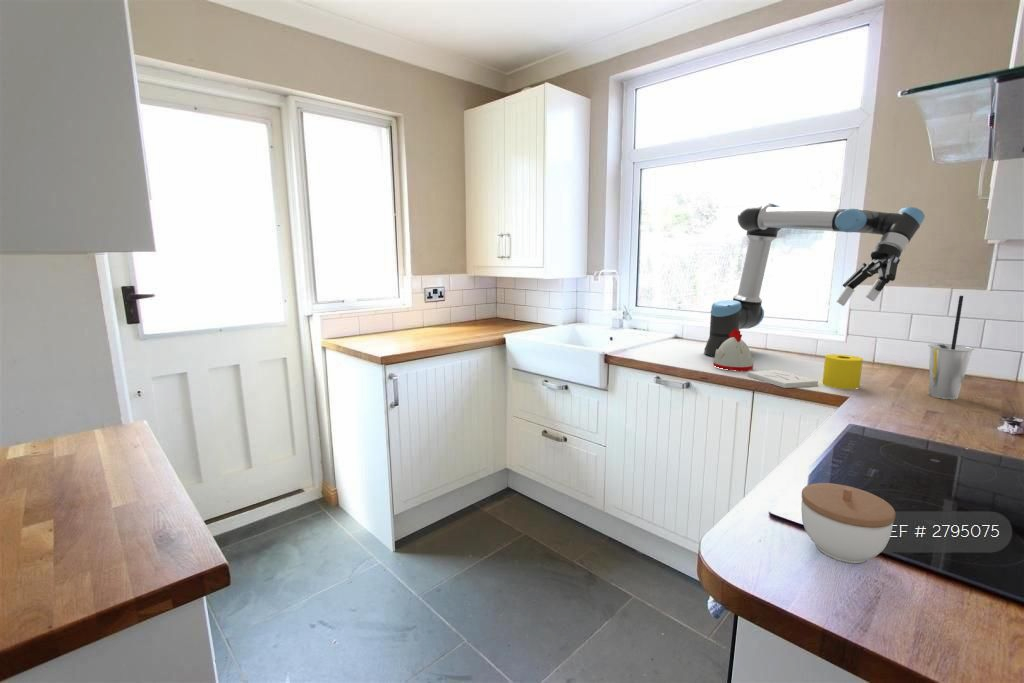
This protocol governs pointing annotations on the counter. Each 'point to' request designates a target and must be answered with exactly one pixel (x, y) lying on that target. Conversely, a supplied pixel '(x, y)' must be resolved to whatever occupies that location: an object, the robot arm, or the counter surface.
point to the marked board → (782, 378)
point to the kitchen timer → (734, 354)
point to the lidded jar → (846, 521)
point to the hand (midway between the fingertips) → (854, 301)
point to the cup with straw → (948, 365)
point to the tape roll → (842, 371)
